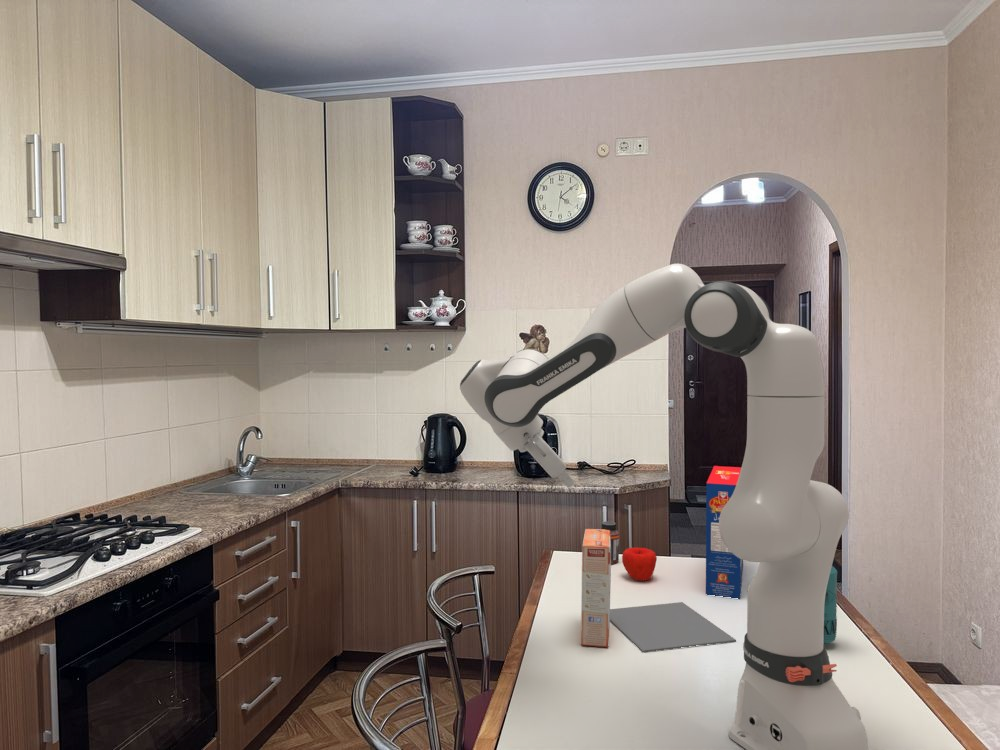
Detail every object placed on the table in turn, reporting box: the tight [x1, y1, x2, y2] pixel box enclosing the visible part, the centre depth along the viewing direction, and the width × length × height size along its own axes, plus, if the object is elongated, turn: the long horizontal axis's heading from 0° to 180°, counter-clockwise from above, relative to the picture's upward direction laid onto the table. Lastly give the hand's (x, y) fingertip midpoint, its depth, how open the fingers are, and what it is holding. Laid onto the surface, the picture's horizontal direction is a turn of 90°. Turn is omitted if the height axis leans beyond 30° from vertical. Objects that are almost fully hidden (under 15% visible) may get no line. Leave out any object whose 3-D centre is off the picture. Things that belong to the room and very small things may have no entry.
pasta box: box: [705, 465, 744, 600], centre depth 176 cm, size 28×8×28 cm, turn 158°
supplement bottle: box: [601, 520, 620, 565], centre depth 192 cm, size 6×6×11 cm
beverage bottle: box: [823, 565, 838, 644], centre depth 136 cm, size 6×7×20 cm
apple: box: [621, 547, 658, 582], centre depth 177 cm, size 9×9×8 cm
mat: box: [609, 601, 737, 653], centre depth 146 cm, size 22×21×1 cm
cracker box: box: [580, 528, 612, 648], centre depth 142 cm, size 14×6×21 cm, turn 170°
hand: (565, 478), depth 136 cm, fingers open, 8 cm apart
